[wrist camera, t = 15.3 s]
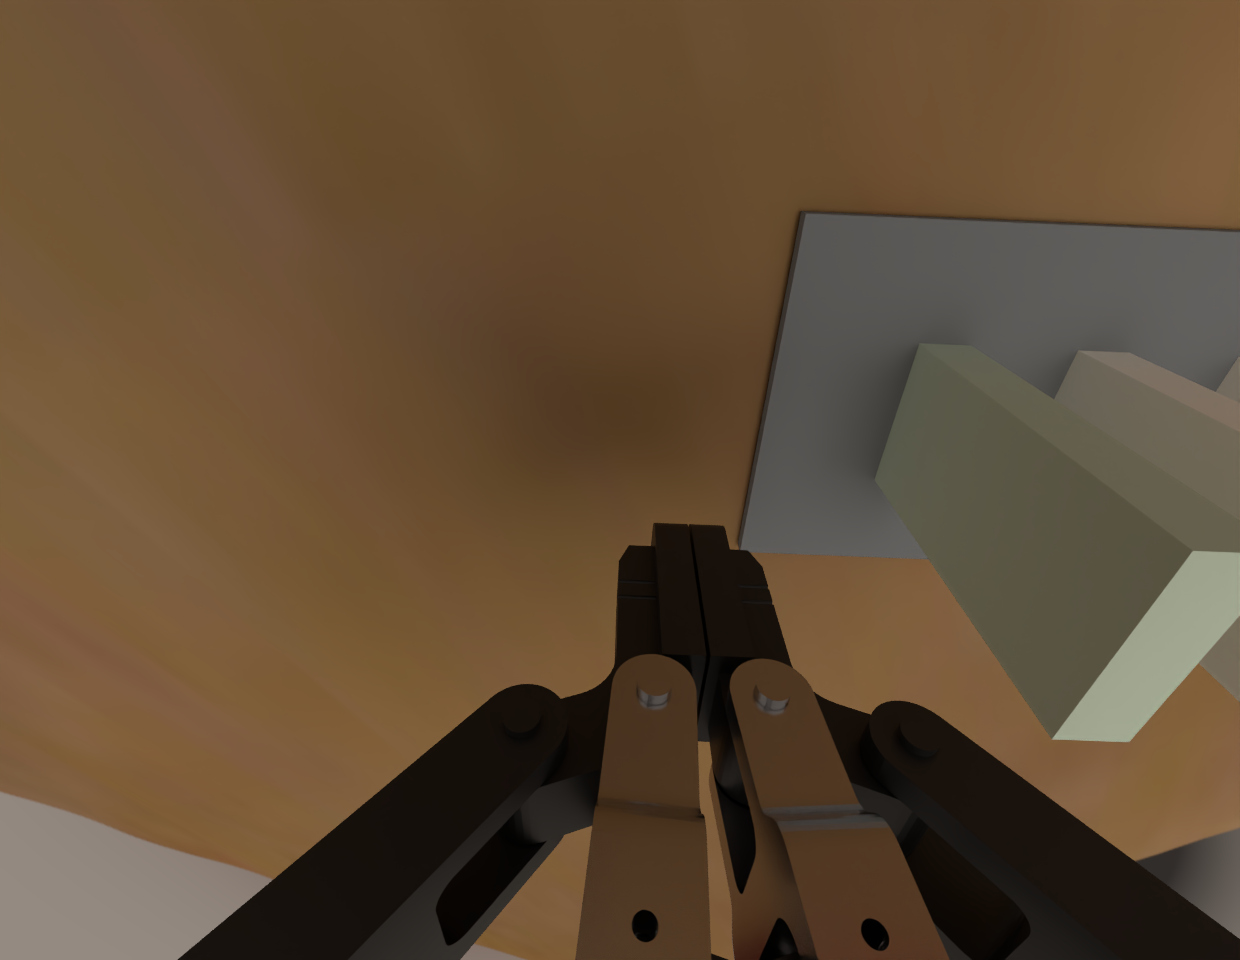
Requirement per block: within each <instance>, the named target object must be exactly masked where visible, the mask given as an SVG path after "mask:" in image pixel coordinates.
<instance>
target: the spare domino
mask: <svg viewBox="0 0 1240 960" xmlns="http://www.w3.org/2000/svg"><path fill="white" fill-rule="evenodd" d="M875 482H876V483H877V485H878V486H879V487H880V489H881V490H882V492H883V493H884V495H885V496H886V498H887V499H888V501H889V502H890V504H891V505H892V506H893V508H894V509H895V511H896V512H897V514H898V515H899V517H900V518H901V520H902V521H903V523H904V524H905V525H906V527H907V528H908V530H909V531H910V533H911V534H912V536H913V537H914V539H915V540H916V542H917V543H918V544H919V546H920V547H921V549H922V550H923V552H924V553H925V555H926V556H927V558H928V559H929V561H930V562H931V563H932V565H933V566H934V568H935V569H936V571H937V572H938V574H939V575H940V577H941V578H942V579H943V581H944V582H945V584H946V585H947V587H948V588H949V590H950V591H951V593H952V594H953V596H954V597H955V598H956V600H957V601H958V603H959V604H960V606H961V607H962V609H963V610H964V612H965V613H966V615H967V616H968V617H969V619H970V620H971V622H972V623H973V625H974V626H975V628H976V629H977V631H978V632H979V634H980V635H981V636H982V638H983V639H984V641H985V642H986V644H987V645H988V647H989V648H990V650H991V651H992V652H993V654H994V655H995V657H996V658H997V660H998V661H999V663H1000V664H1001V666H1002V667H1003V669H1004V670H1005V671H1006V673H1007V674H1008V676H1009V677H1010V679H1011V680H1012V682H1013V683H1014V685H1015V686H1016V688H1017V689H1018V690H1019V692H1020V693H1021V695H1022V696H1023V698H1024V699H1025V701H1026V702H1027V704H1028V705H1029V707H1030V708H1031V709H1032V711H1033V712H1034V714H1035V715H1036V717H1037V718H1038V720H1039V721H1040V723H1041V724H1042V725H1043V727H1044V728H1045V730H1046V731H1047V733H1048V734H1049V736H1050V737H1051V739H1060V740H1086V741H1113V742H1129V741H1130V740H1131V739H1132V738H1133V737H1134V736H1135V735H1136V733H1137V732H1138V731H1139V730H1140V729H1141V728H1142V727H1143V725H1144V724H1145V723H1146V722H1147V721H1148V720H1149V719H1150V717H1151V716H1152V715H1153V714H1154V713H1155V712H1156V711H1157V709H1158V708H1159V707H1160V706H1161V705H1162V704H1163V703H1164V702H1165V700H1166V699H1167V698H1168V697H1169V696H1170V695H1171V694H1172V692H1173V691H1174V690H1175V689H1176V688H1177V687H1178V686H1179V684H1180V683H1181V682H1182V681H1183V680H1184V679H1185V678H1186V676H1187V675H1188V674H1189V673H1190V672H1191V671H1192V670H1193V668H1194V667H1195V666H1196V665H1197V664H1198V663H1199V662H1200V660H1201V659H1202V658H1203V657H1204V656H1205V655H1206V654H1207V652H1208V651H1209V650H1210V649H1211V648H1212V647H1213V646H1214V644H1215V643H1216V642H1217V641H1218V640H1219V639H1220V638H1221V636H1222V635H1223V634H1224V633H1225V632H1226V631H1227V630H1228V628H1229V627H1230V626H1231V625H1232V624H1233V623H1234V622H1235V620H1236V619H1237V618H1238V617H1239V616H1240V520H1239V519H1237V518H1236V517H1234V516H1232V515H1231V514H1229V513H1228V512H1226V511H1225V510H1223V509H1222V508H1220V507H1219V506H1217V505H1216V504H1214V503H1212V502H1211V501H1209V500H1208V499H1206V498H1205V497H1203V496H1202V495H1200V494H1199V493H1197V492H1196V491H1194V490H1192V489H1191V488H1189V487H1188V486H1186V485H1185V484H1183V483H1182V482H1180V481H1179V480H1177V479H1176V478H1174V477H1172V476H1171V475H1169V474H1168V473H1166V472H1165V471H1163V470H1162V469H1160V468H1159V467H1157V466H1156V465H1154V464H1153V463H1151V462H1149V461H1148V460H1146V459H1145V458H1143V457H1142V456H1140V455H1139V454H1137V453H1136V452H1134V451H1133V450H1131V449H1129V448H1128V447H1126V446H1125V445H1123V444H1122V443H1120V442H1119V441H1117V440H1116V439H1114V438H1113V437H1111V436H1109V435H1108V434H1106V433H1105V432H1103V431H1102V430H1100V429H1099V428H1097V427H1096V426H1094V425H1093V424H1091V423H1089V422H1088V421H1086V420H1085V419H1083V418H1082V417H1080V416H1079V415H1077V414H1076V413H1074V412H1073V411H1071V410H1069V409H1068V408H1066V407H1065V406H1063V405H1062V404H1060V403H1059V402H1057V401H1056V400H1054V399H1053V398H1051V397H1049V396H1048V395H1046V394H1045V393H1043V392H1042V391H1040V390H1039V389H1037V388H1036V387H1034V386H1033V385H1031V384H1029V383H1028V382H1026V381H1025V380H1023V379H1022V378H1020V377H1019V376H1017V375H1016V374H1014V373H1013V372H1011V371H1010V370H1008V369H1006V368H1005V367H1003V366H1002V365H1000V364H999V363H997V362H996V361H994V360H993V359H991V358H990V357H988V356H986V355H985V354H983V353H982V352H980V351H979V350H977V349H976V348H974V347H973V346H971V345H947V344H923V343H919V346H918V349H917V352H916V356H915V359H914V362H913V365H912V368H911V371H910V374H909V377H908V380H907V383H906V386H905V389H904V392H903V395H902V398H901V401H900V404H899V407H898V410H897V413H896V416H895V419H894V422H893V425H892V428H891V431H890V434H889V437H888V440H887V443H886V446H885V449H884V452H883V455H882V458H881V461H880V464H879V467H878V470H877V473H876V477H875Z"/></svg>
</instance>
